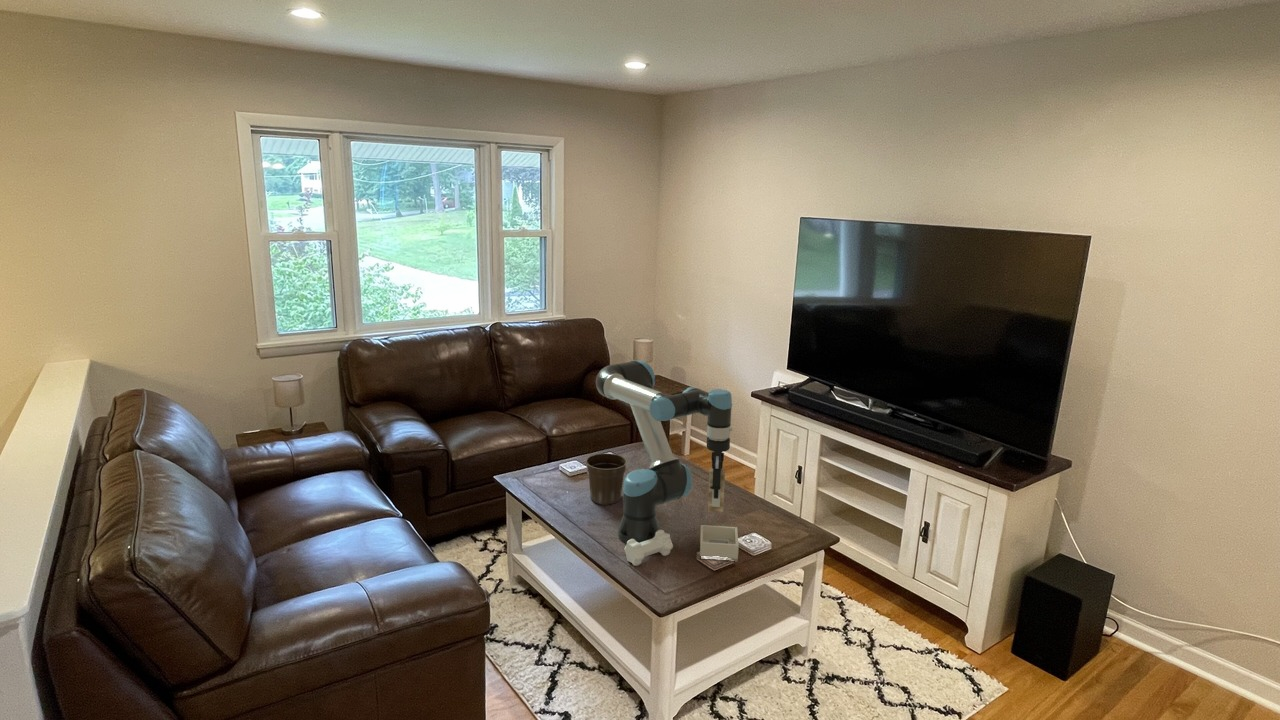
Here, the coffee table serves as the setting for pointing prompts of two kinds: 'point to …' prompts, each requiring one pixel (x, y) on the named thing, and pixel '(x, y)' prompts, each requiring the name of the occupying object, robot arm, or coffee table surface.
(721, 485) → the wooden wick block
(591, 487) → the plant pot
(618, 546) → the coffee table surface
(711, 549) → the open rectangular box
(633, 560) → the dog bone
